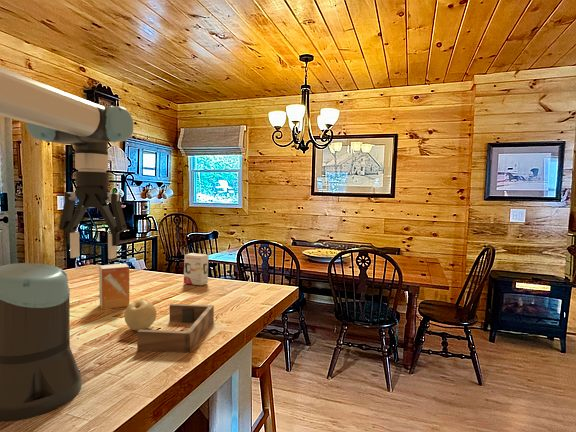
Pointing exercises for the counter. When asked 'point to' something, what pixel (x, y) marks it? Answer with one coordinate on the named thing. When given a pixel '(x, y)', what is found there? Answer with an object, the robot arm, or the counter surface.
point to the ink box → (196, 269)
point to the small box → (114, 285)
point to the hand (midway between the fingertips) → (93, 257)
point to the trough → (178, 339)
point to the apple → (140, 315)
